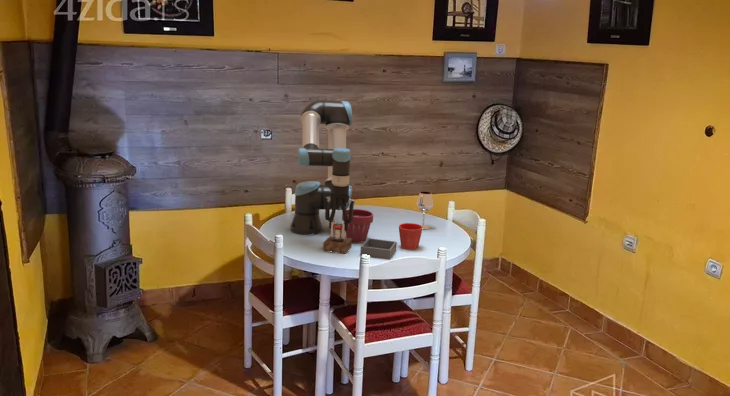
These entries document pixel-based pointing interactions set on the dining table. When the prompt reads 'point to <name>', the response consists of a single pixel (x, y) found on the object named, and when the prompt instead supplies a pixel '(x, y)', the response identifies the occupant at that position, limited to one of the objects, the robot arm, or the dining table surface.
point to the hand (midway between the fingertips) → (338, 236)
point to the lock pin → (338, 232)
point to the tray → (378, 248)
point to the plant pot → (359, 225)
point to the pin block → (337, 245)
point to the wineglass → (425, 204)
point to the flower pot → (410, 235)
